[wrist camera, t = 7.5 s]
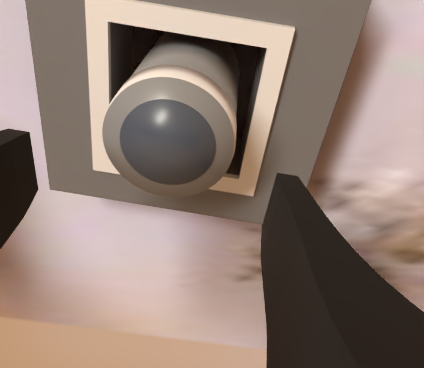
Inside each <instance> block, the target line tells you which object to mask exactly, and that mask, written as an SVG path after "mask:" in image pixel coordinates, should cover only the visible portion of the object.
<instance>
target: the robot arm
mask: <svg viewBox="0 0 424 368" xmlns="http://www.w3.org/2000/svg"><path fill="white" fill-rule="evenodd" d="M37 191H38V185H37V178H36V172H35V165H34V159H33V152H32V146H31V139H30V133H29V132H25V131H19V130H13V129H6V130H2V131H0V249H1V248H2V246H3V245H4V243H5V242H6V241H7V239H8V238H9V237H10V235H11V234H12V233H13V231H14V230H15V228H16V227H17V226H18V224H19V223H20V222H21V220H22V219H23V217H24V216H25V214H26V212H27V210H28V208H29V206H30V205H31V203H32V201H33V199H34V197H35V195H36V193H37ZM261 265H262V277H263V289H264V300H265V312H266V324H267V368H424V312H423V311H421V310H420V309H419V308H418V307H416V306H415V305H414V304H412V303H411V302H410V301H409V300H408V299H406V298H405V297H404V296H403V295H402V294H400V293H399V292H398V291H397V290H396V289H394V288H393V287H392V286H391V285H390V284H389V283H387V282H386V281H385V280H384V279H383V278H382V277H381V276H380V275H379V274H378V273H377V272H376V271H375V270H374V269H373V268H372V267H371V266H370V265H368V264H367V263H366V262H365V261H364V260H363V259H362V258H361V257H360V256H359V254H358V253H357V252H356V251H355V250H354V249H353V248H352V247H351V246H350V245H349V243H348V242H347V241H346V240H345V239H344V238H343V236H342V235H341V234H340V233H339V232H338V231H337V229H336V228H335V227H334V226H333V224H332V223H331V222H330V220H329V219H328V218H327V217H326V215H325V214H324V213H323V211H322V210H321V208H320V207H319V206H318V204H317V203H316V201H315V200H314V199H313V197H312V196H311V194H310V193H309V191H308V190H307V188H306V187H305V185H304V184H303V183H302V181H301V180H300V178H299V177H298V176H295V175H289V174H282V173H277V175H276V178H275V182H274V185H273V189H272V192H271V196H270V199H269V203H268V206H267V210H266V213H265V217H264V221H263V224H262V236H261Z"/></svg>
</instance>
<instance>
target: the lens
mask: <svg viewBox="0 0 424 368" xmlns="http://www.w3.org/2000/svg"><path fill="white" fill-rule="evenodd" d="M238 86H239V63H238V59H237V56H236V53H235V51H234V49H233V48H232V46H231V45H230V43H229V42H227V41H221V40H215V39H209V38H203V37H197V36H191V35H185V34H179V33H173V32H165V33H164V34H163V35H161V37H160V38H159V39H158V40H157V41H156V42H155V44H154V45H153V47H152V48H151V49H150V51H149V52H148V54H147V55H146V56H145V58H144V59H143V61H142V62H141V63H140V65H139V66H138V67H137V69H136V70H135V72H134V73H133V74H132V76H131V77H130V78H129V79H128V80H127V81H126V82H125V83H124V84H123V86H122V87H121V88H120V90H119V91H118V92H117V94H116V95H115V97H114V98H113V100H112V101H111V102H110V104H109V106H108V109H107V111H106V114H105V118H104V121H103V128H102V138H103V143H104V147H105V150H106V153H107V155H108V158H109V160H110V161H111V163H112V164H113V166H114V167H115V168H116V170H117V171H118V172H119V173H120V174H121V175H122V176H123V177H124V178H125V179H126V180H128V181H129V182H130V183H132V184H133V185H135V186H136V187H138V188H140V189H142V190H144V191H146V192H149V193H152V194H155V195H159V196H165V197H186V196H191V195H195V194H198V193H201V192H203V191H205V190H207V189H209V188H211V187H212V186H213V185H215V184H216V183H217V182H218V181H219V180H220V179H221V178H222V177H223V176H224V174H225V173H226V171H227V170H228V168H229V166H230V163H231V161H232V158H233V156H234V152H235V145H236V130H237V124H236V113H237V99H238Z"/></svg>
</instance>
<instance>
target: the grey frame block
mask: <svg viewBox="0 0 424 368" xmlns="http://www.w3.org/2000/svg"><path fill="white" fill-rule="evenodd" d="M25 2H26V9H27V17H28V25H29V32H30V40H31V48H32V55H33V63H34V71H35V78H36V86H37V94H38V101H39V109H40V116H41V124H42V132H43V139H44V147H45V155H46V162H47V170H48V178H49V185H50V189H51V190H57V191H63V192H69V193H75V194H81V195H87V196H93V197H99V198H105V199H112V200H118V201H124V202H130V203H136V204H142V205H148V206H154V207H160V208H166V209H172V210H178V211H185V212H191V213H197V214H203V215H209V216H215V217H221V218H227V219H233V220H239V221H245V222H251V223H258V224H263V221H264V217H265V213H266V210H267V206H268V203H269V199H270V196H271V192H272V189H273V185H274V182H275V178H276V175H277V173H282V174H289V175H295V176H298V177H299V178H300V180H301V181H302V183H303V184H304V185H305V187H306V188H307V185H308V182H309V179H310V176H311V173H312V170H313V168H314V165H315V162H316V159H317V156H318V153H319V150H320V147H321V144H322V142H323V139H324V136H325V133H326V130H327V127H328V124H329V121H330V118H331V116H332V113H333V110H334V107H335V104H336V101H337V98H338V95H339V92H340V89H341V87H342V84H343V81H344V78H345V75H346V72H347V69H348V66H349V63H350V61H351V58H352V55H353V52H354V49H355V46H356V43H357V40H358V37H359V35H360V32H361V29H362V26H363V23H364V20H365V17H366V14H367V11H368V9H369V6H370V3H371V0H25ZM134 26H137V27H143V28H149V29H155V30H161V31H167V32H173V33H179V34H185V35H191V36H197V37H203V38H209V39H215V40H221V41H227V42H233V43H239V44H245V45H251V46H257V47H260V50H259V55H258V60H257V65H256V70H255V75H254V80H253V84H252V89H251V94H250V99H249V104H248V109H247V114H246V118H245V123H244V128H243V133H242V138H236V145H235V152H234V156H233V158H232V161H231V163H230V166H229V168H228V170H227V171H226V173H225V174H224V176H223V177H222V178H221V179H220V180H219V181H218V182H217V183H216V184H215V185H213V186H212V187H211V188H209V189H207V190H205V191H203V192H201V193H198V194H195V195H191V196H186V197H165V196H159V195H155V194H152V193H149V192H146V191H144V190H142V189H140V188H138V187H136V186H135V185H133V184H132V183H130V182H129V181H128V180H126V179H125V178H124V177H123V176H122V175H121V174H120V173H119V172H118V171H117V170H116V168H115V167H114V166H113V164H112V163H111V161H110V160H109V158H108V155H107V153H106V150H105V147H104V143H103V138H102V128H103V121H104V118H105V114H106V111H107V109H108V106H109V104H110V102H111V101H112V100H113V98H114V97H115V95H116V94H117V92H118V91H119V90H120V88H121V87H122V86H123V84H124V83H125V82H126V81H127V80H128V79H129V78H130V77H131V76H132V74H133V46H134Z"/></svg>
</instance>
